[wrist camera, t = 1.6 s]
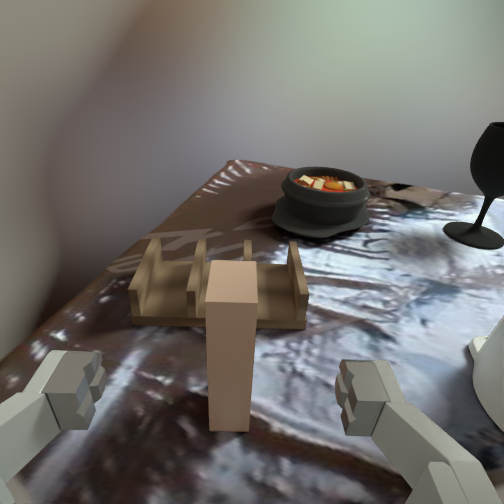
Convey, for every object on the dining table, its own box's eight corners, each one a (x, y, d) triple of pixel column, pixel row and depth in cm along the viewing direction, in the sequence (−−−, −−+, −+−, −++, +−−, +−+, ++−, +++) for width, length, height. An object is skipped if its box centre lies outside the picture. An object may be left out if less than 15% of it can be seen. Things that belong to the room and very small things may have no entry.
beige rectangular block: (248, 431, 30) (258, 302, 23) (209, 431, 30) (205, 301, 22) (248, 383, 35) (256, 261, 27) (214, 383, 35) (211, 260, 27)
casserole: (339, 260, 56) (349, 213, 51) (247, 226, 64) (249, 184, 60) (383, 210, 74) (394, 173, 69) (307, 189, 82) (311, 154, 78)
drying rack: (305, 329, 42) (311, 294, 39) (132, 325, 41) (125, 289, 38) (293, 272, 52) (297, 241, 49) (155, 268, 51) (151, 236, 48)
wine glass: (506, 234, 66) (559, 128, 56) (502, 256, 59) (562, 138, 49) (448, 218, 71) (487, 118, 61) (438, 236, 64) (480, 126, 54)
